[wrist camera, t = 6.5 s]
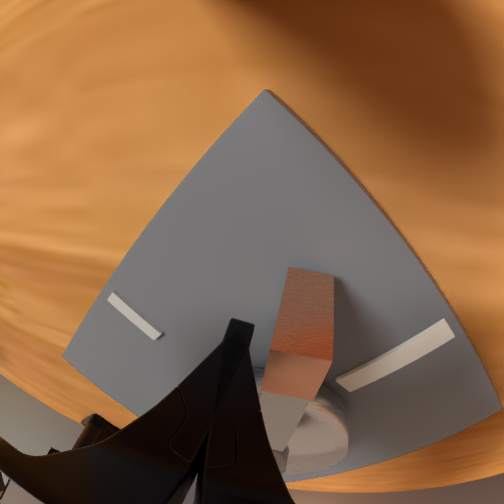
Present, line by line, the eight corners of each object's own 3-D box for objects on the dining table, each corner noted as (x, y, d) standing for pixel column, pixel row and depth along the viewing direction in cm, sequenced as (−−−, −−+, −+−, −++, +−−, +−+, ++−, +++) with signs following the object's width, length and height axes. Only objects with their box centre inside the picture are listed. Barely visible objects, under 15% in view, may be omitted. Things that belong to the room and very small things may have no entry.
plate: (269, 476, 24) (267, 486, 23) (68, 347, 19) (60, 358, 18) (499, 397, 13) (503, 411, 12) (270, 89, 9) (263, 89, 8)
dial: (322, 456, 17) (315, 504, 14) (193, 428, 18) (175, 474, 15) (431, 292, 9) (460, 376, 6) (182, 241, 11) (125, 309, 7)
